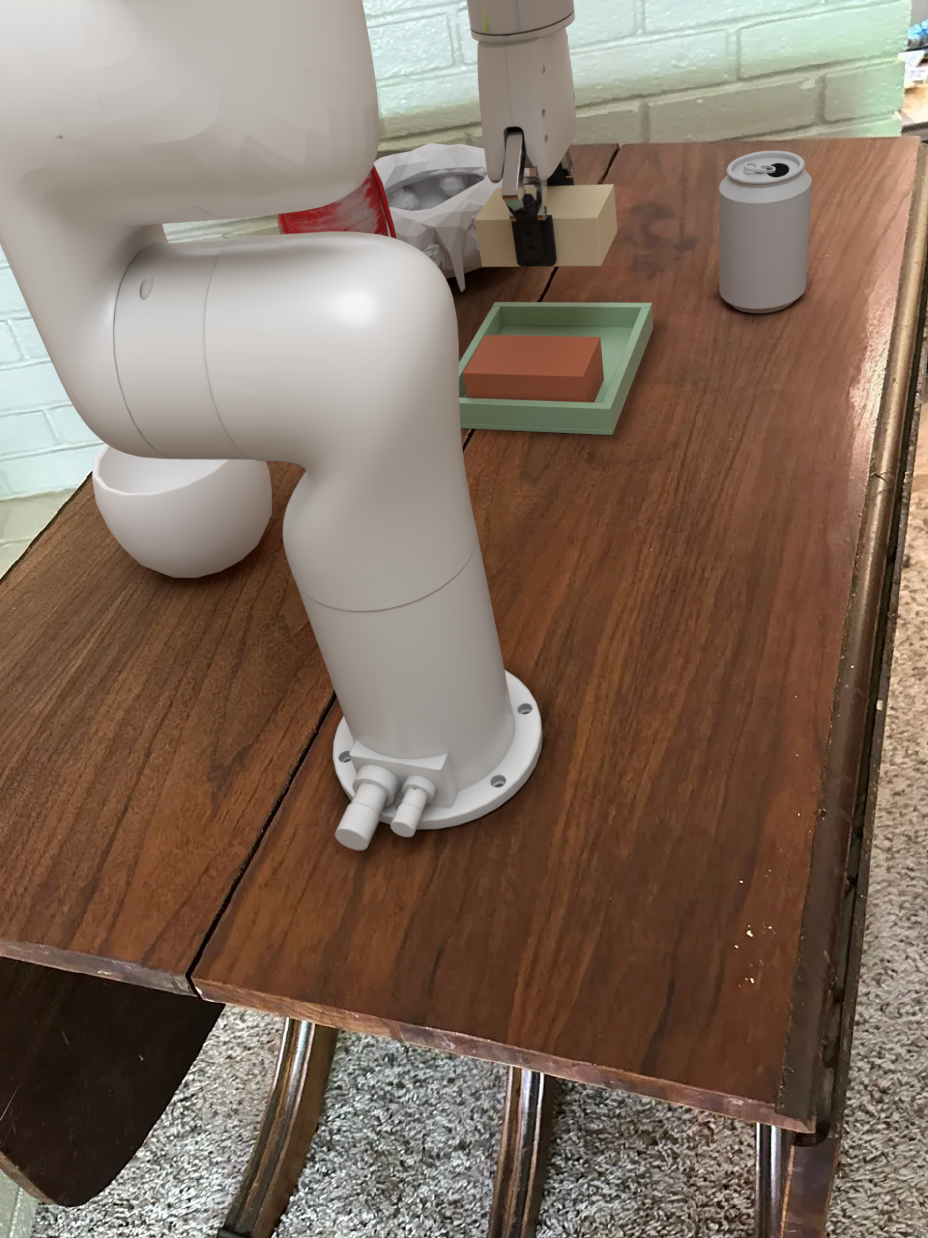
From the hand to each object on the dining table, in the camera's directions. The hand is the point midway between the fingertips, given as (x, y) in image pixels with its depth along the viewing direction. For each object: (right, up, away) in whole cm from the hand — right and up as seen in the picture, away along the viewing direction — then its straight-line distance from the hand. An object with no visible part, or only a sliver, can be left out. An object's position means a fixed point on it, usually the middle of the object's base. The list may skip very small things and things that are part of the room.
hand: (548, 242), depth 89 cm
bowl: (-9, +5, +24) cm, 26 cm away
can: (+20, -2, +9) cm, 22 cm away
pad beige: (0, 0, 0) cm, 1 cm away
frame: (+1, -10, +5) cm, 11 cm away
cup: (-26, -26, -6) cm, 37 cm away
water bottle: (-15, -13, +6) cm, 21 cm away
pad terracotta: (-1, -12, +2) cm, 12 cm away
